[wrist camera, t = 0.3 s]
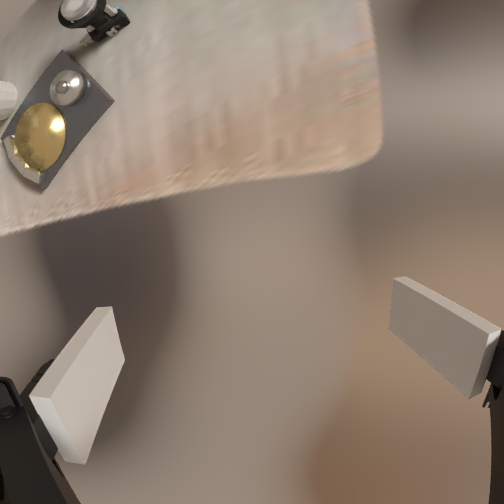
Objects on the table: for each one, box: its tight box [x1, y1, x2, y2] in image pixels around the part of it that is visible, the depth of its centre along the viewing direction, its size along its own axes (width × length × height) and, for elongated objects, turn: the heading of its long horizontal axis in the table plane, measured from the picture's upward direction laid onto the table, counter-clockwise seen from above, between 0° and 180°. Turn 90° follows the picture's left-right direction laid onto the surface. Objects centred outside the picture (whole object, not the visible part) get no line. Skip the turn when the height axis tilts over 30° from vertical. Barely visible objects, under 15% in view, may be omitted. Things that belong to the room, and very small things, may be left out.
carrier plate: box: [1, 50, 114, 190], centre depth 29 cm, size 15×11×4 cm
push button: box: [58, 0, 130, 47], centre depth 23 cm, size 7×5×10 cm
